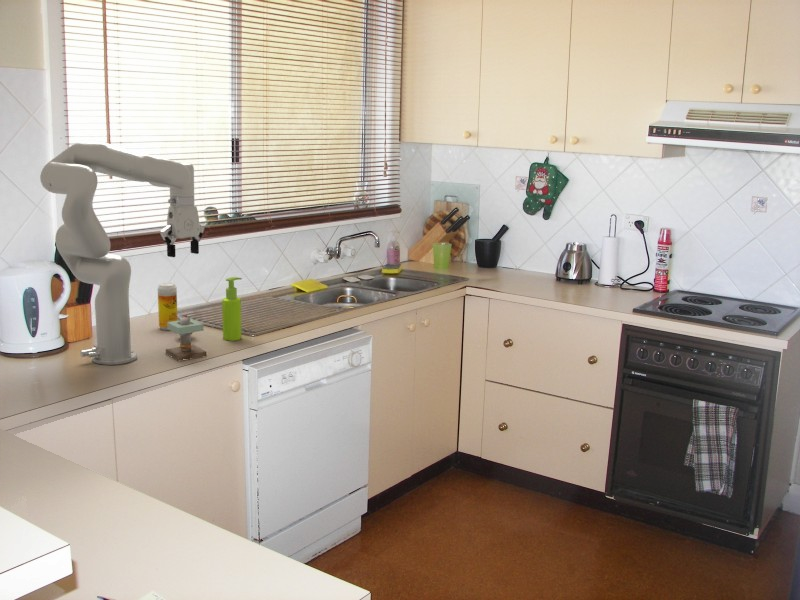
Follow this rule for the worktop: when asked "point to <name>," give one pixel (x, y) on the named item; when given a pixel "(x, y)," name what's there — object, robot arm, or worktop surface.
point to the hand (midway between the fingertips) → (183, 255)
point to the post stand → (186, 346)
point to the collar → (185, 327)
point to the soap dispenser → (231, 312)
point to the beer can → (167, 304)
